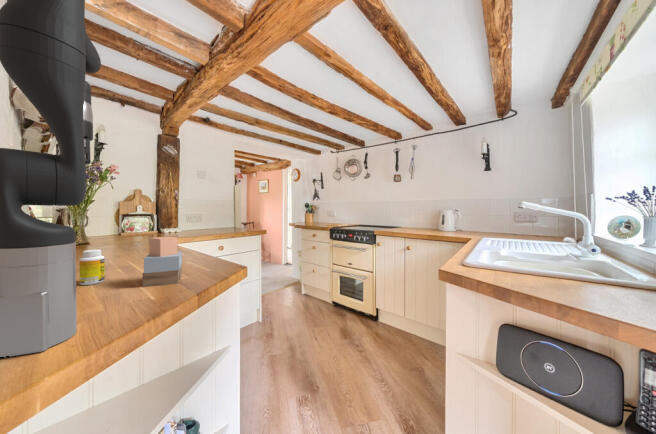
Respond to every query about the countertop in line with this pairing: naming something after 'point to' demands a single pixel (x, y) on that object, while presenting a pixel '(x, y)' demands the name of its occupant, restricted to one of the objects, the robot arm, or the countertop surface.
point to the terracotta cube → (163, 246)
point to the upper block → (162, 263)
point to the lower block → (161, 278)
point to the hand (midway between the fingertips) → (72, 182)
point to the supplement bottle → (91, 267)
